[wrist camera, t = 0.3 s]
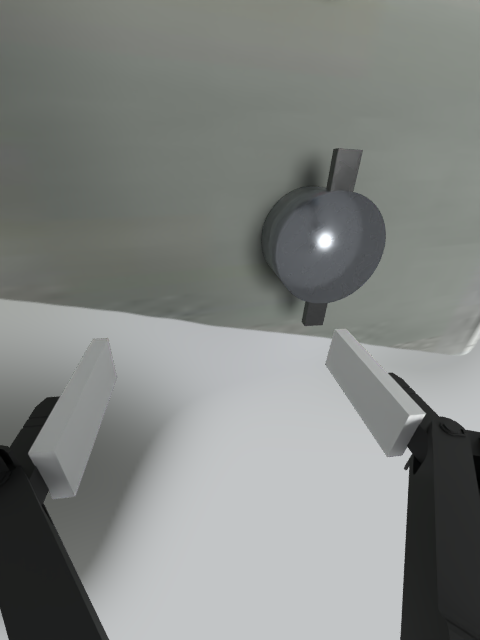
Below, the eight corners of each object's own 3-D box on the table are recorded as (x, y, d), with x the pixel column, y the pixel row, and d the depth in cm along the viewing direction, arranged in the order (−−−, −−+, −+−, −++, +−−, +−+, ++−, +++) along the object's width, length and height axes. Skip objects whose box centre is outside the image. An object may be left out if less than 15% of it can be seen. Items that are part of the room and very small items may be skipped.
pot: (268, 149, 35) (290, 144, 27) (367, 155, 37) (414, 152, 29) (255, 302, 45) (269, 330, 38) (332, 300, 48) (359, 326, 40)
